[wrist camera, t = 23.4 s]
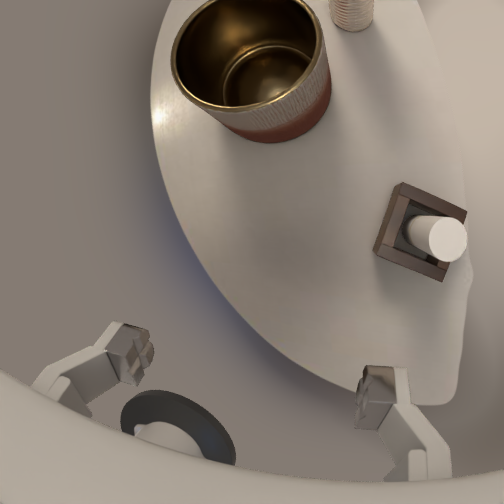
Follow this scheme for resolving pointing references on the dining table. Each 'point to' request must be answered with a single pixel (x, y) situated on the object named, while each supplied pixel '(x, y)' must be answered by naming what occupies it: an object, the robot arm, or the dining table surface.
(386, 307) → the dining table surface
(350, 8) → the water bottle
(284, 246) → the dining table surface
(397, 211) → the socket block
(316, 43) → the planter
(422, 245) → the tube
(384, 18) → the dining table surface
